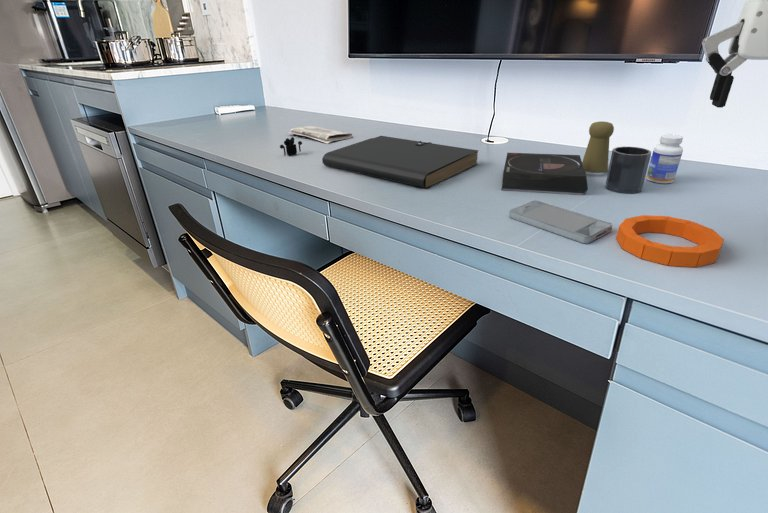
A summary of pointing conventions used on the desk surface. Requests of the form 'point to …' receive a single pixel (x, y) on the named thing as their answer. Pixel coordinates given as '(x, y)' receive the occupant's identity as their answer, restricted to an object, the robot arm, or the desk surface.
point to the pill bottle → (665, 159)
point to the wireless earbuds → (290, 146)
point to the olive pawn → (598, 147)
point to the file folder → (403, 160)
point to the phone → (561, 221)
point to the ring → (665, 253)
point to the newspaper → (320, 133)
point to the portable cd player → (544, 173)
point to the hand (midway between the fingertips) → (759, 106)
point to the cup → (627, 169)
